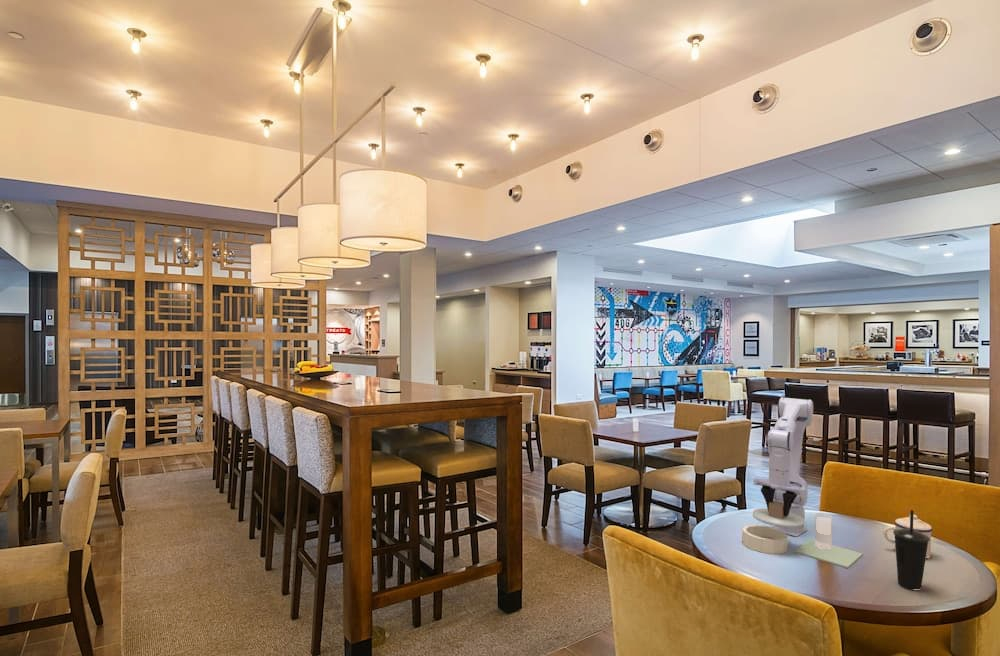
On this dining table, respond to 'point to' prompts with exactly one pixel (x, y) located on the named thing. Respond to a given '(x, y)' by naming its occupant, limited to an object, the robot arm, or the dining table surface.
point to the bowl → (764, 539)
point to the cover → (777, 516)
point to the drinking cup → (910, 555)
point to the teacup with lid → (917, 525)
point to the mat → (830, 554)
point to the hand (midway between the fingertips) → (778, 513)
